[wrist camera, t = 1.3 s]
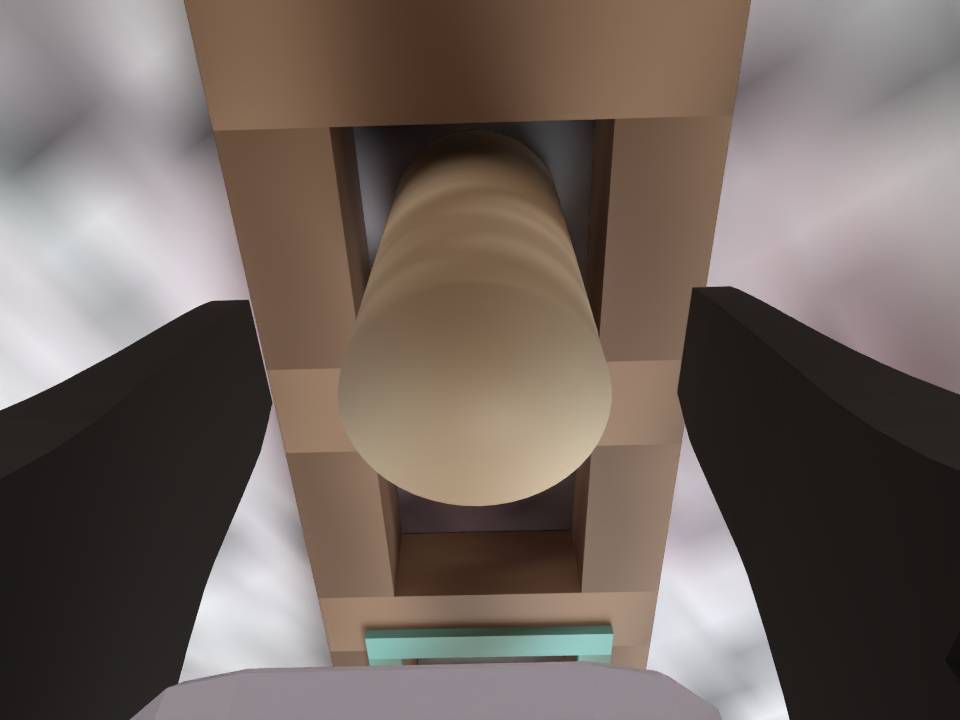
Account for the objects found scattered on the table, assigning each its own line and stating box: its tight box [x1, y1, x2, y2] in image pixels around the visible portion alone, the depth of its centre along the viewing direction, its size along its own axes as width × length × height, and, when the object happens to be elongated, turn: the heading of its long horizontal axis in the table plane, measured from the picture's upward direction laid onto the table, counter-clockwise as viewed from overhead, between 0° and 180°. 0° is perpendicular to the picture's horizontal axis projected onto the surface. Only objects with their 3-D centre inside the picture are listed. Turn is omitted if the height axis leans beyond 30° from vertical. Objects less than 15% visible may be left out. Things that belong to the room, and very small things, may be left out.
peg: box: [338, 130, 612, 506], centre depth 14 cm, size 4×4×8 cm
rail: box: [184, 0, 751, 669], centre depth 20 cm, size 10×26×3 cm, turn 2°
